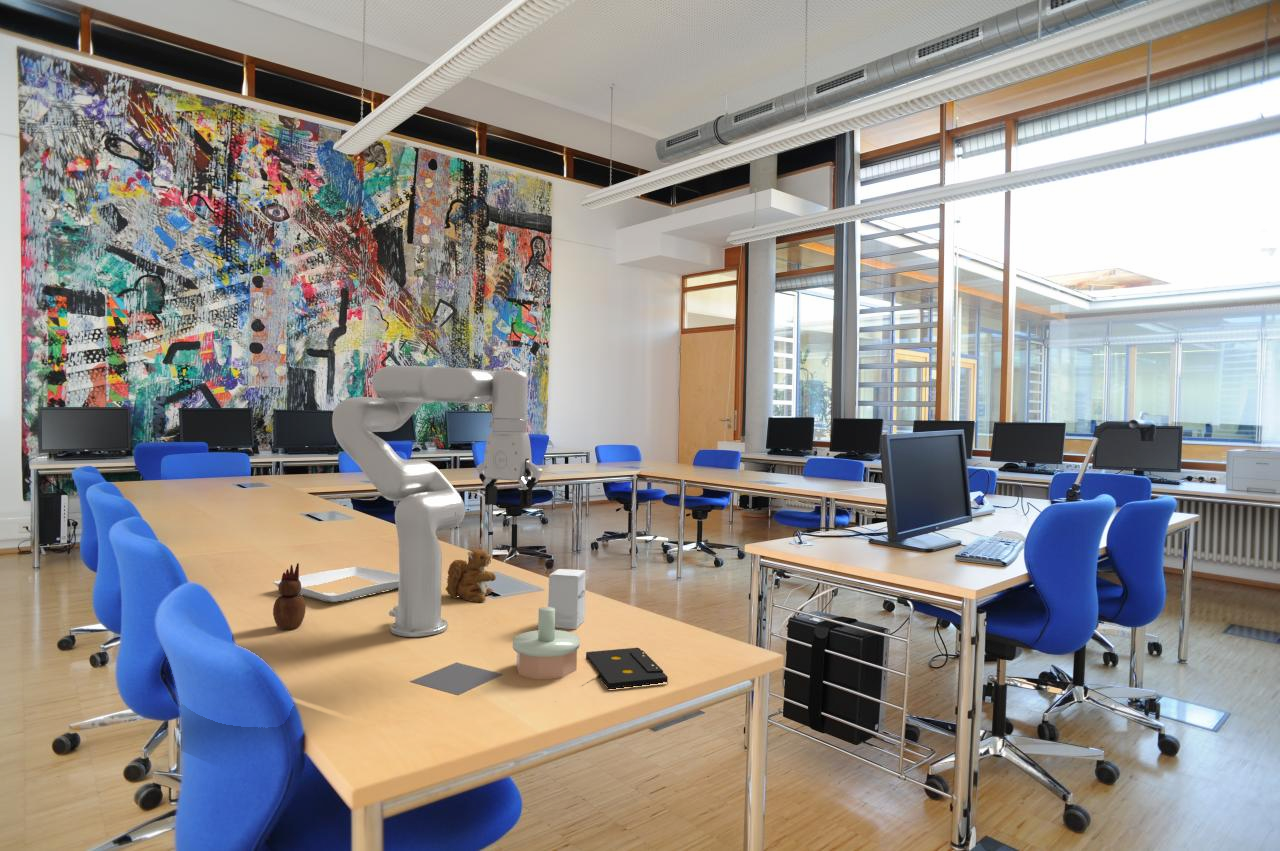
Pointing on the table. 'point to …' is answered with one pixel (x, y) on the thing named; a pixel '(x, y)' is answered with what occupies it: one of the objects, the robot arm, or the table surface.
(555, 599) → the supplement box
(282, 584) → the wooden figurine
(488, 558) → the stuffed squirrel
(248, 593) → the table surface
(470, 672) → the mat
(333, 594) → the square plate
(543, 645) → the lid
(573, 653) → the bowl
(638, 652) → the cassette tape
